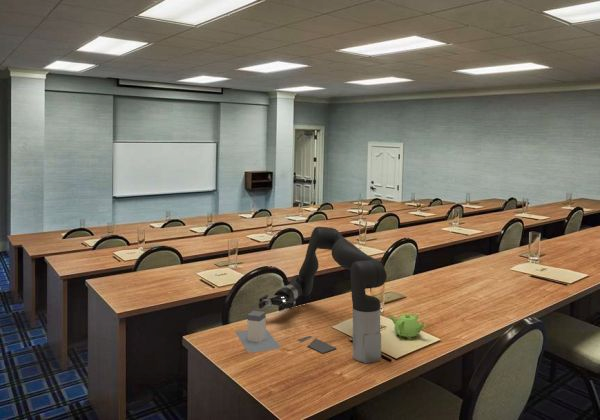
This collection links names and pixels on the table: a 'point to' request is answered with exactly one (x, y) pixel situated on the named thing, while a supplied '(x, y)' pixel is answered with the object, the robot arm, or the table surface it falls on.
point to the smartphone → (318, 345)
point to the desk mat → (252, 347)
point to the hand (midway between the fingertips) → (269, 307)
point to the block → (256, 326)
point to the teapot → (407, 325)
